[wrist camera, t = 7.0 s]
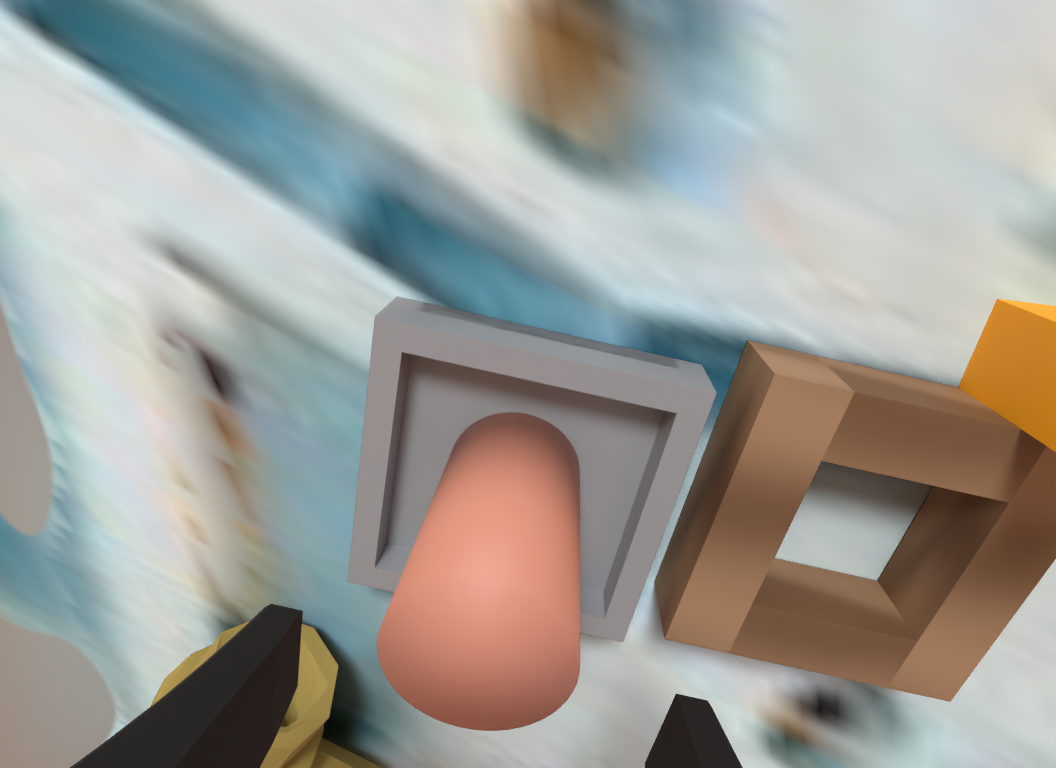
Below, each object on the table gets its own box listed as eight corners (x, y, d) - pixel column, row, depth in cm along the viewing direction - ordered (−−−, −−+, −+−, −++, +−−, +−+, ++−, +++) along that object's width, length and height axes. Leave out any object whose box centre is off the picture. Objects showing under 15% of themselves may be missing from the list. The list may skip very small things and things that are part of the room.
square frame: (908, 637, 20) (950, 701, 18) (654, 581, 20) (664, 639, 18) (1055, 409, 17) (1132, 454, 14) (747, 340, 16) (774, 374, 14)
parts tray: (618, 596, 20) (622, 642, 19) (368, 541, 20) (347, 581, 19) (701, 364, 17) (716, 392, 15) (396, 296, 17) (374, 316, 15)
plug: (562, 537, 19) (553, 748, 12) (440, 508, 19) (366, 705, 12) (595, 429, 17) (604, 607, 11) (461, 398, 17) (389, 559, 11)
